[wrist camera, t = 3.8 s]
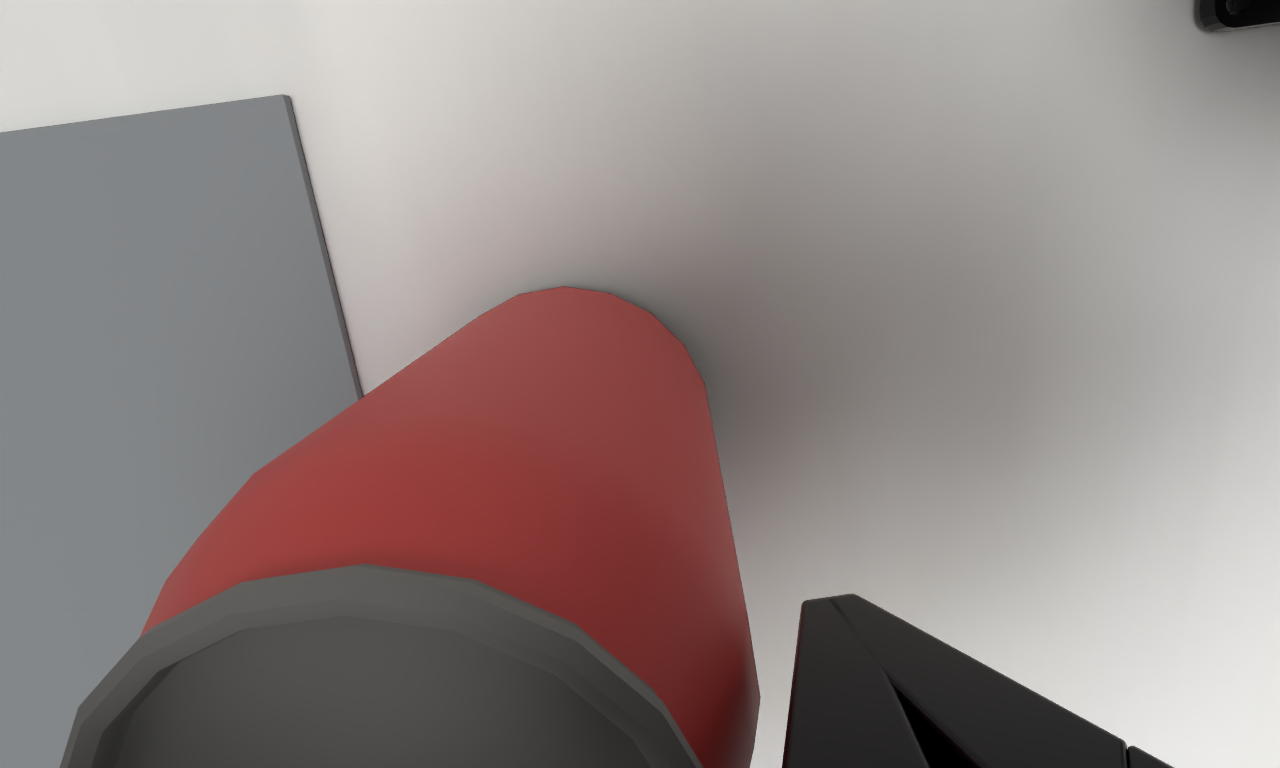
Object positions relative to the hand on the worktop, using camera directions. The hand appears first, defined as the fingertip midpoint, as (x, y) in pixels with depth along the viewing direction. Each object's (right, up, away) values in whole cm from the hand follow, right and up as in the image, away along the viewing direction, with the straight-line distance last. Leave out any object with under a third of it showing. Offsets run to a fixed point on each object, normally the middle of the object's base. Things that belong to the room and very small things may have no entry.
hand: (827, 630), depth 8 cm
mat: (-15, +1, +9) cm, 17 cm away
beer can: (-4, +2, +9) cm, 10 cm away
